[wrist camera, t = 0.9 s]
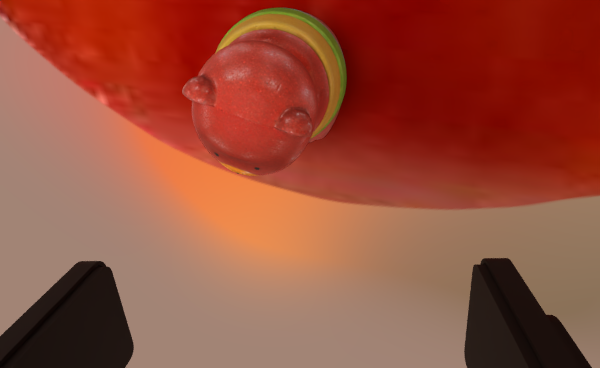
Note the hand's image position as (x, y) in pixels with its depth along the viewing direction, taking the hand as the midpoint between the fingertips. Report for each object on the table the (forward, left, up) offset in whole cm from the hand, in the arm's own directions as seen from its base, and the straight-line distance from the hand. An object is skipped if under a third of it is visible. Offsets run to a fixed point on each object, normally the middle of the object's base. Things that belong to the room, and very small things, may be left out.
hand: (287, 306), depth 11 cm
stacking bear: (-1, -4, -28) cm, 28 cm away
